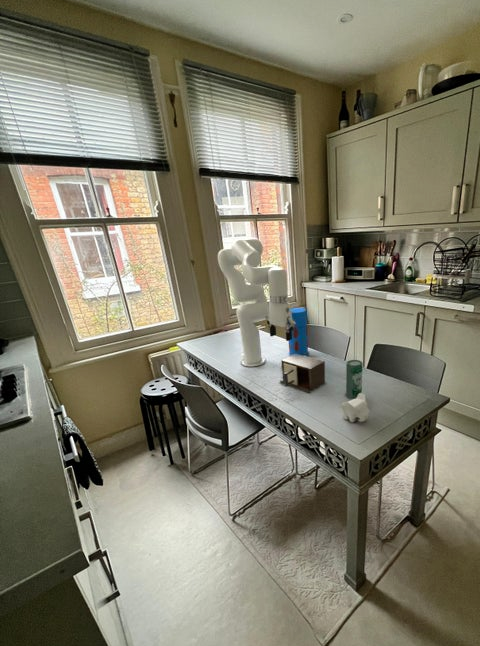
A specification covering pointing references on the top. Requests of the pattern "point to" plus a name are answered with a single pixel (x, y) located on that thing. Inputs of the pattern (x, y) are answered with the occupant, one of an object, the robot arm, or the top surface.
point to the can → (353, 378)
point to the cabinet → (306, 372)
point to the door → (290, 374)
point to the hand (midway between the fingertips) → (281, 337)
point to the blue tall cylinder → (299, 332)
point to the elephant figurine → (356, 409)
